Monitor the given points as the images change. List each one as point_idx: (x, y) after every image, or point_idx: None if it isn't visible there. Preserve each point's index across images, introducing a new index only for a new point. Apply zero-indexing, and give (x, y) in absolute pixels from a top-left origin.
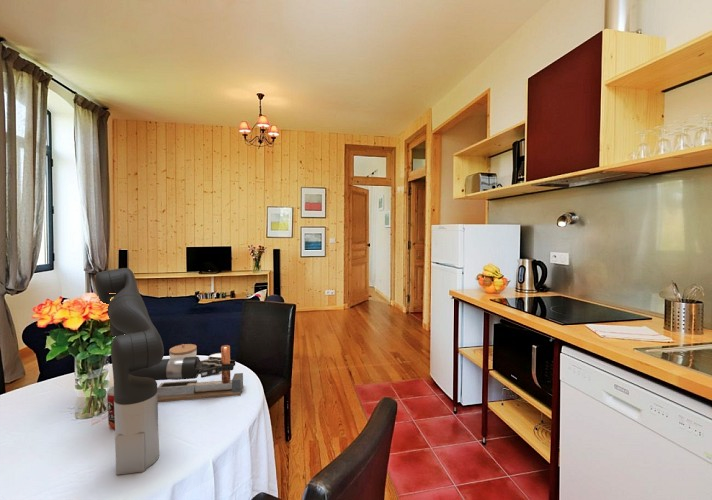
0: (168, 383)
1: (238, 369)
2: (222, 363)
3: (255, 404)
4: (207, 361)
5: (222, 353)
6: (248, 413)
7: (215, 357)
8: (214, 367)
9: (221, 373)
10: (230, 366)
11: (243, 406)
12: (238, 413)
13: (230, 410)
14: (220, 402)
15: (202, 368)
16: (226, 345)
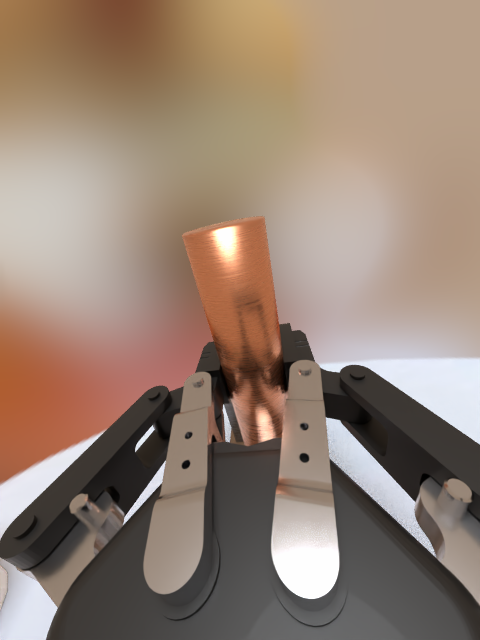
0: None
1: (43, 476)
2: (276, 362)
3: (371, 360)
4: (207, 517)
5: (267, 280)
6: (438, 364)
7: (85, 460)
8: (376, 391)
9: (6, 581)
10: (303, 333)
11: (397, 386)
12: (457, 389)
13: (451, 420)
14: (396, 487)
15: (443, 567)
16: (191, 232)
